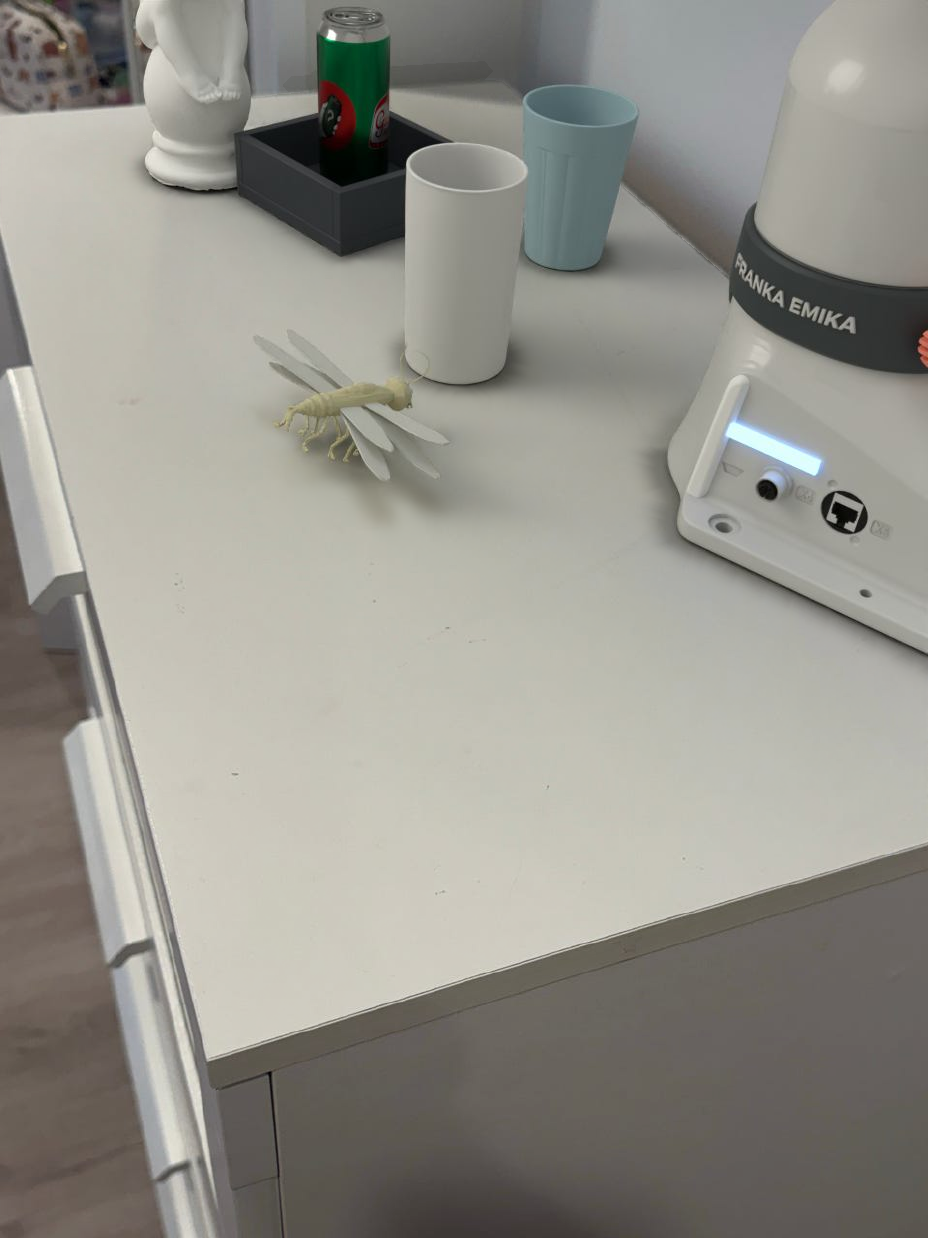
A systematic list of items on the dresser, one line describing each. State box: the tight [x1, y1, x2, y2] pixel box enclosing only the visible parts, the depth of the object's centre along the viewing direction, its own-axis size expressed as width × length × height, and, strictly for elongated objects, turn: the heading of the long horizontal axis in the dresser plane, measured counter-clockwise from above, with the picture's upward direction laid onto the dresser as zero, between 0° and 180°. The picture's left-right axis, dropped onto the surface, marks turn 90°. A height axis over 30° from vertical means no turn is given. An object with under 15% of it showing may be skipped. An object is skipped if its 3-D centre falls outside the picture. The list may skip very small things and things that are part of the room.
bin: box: [234, 109, 456, 257], centre depth 87 cm, size 13×13×4 cm
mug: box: [404, 142, 528, 385], centre depth 70 cm, size 10×7×12 cm, turn 5°
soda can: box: [315, 6, 391, 187], centre depth 84 cm, size 5×5×12 cm
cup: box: [522, 84, 640, 271], centre depth 81 cm, size 8×8×10 cm
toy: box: [252, 328, 451, 483], centre depth 63 cm, size 15×9×5 cm, turn 39°
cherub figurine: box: [135, 0, 252, 191], centre depth 84 cm, size 12×12×22 cm
